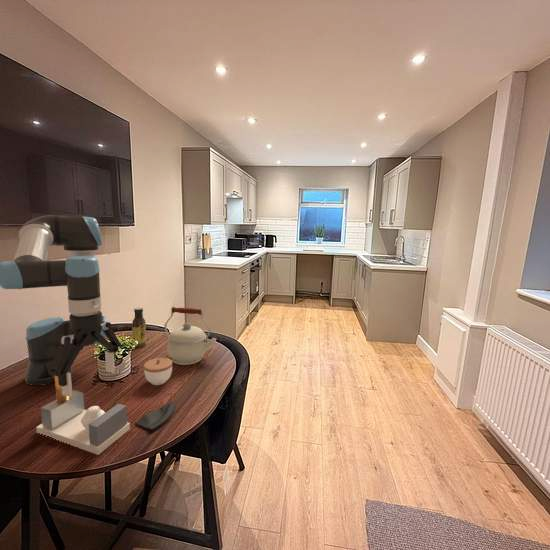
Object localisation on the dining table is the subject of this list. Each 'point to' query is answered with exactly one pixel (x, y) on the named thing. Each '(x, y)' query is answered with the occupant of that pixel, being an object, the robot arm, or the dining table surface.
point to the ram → (61, 407)
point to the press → (91, 430)
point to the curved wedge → (156, 417)
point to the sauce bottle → (139, 327)
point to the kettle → (187, 340)
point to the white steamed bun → (91, 415)
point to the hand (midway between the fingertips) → (90, 382)
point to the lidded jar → (158, 370)
